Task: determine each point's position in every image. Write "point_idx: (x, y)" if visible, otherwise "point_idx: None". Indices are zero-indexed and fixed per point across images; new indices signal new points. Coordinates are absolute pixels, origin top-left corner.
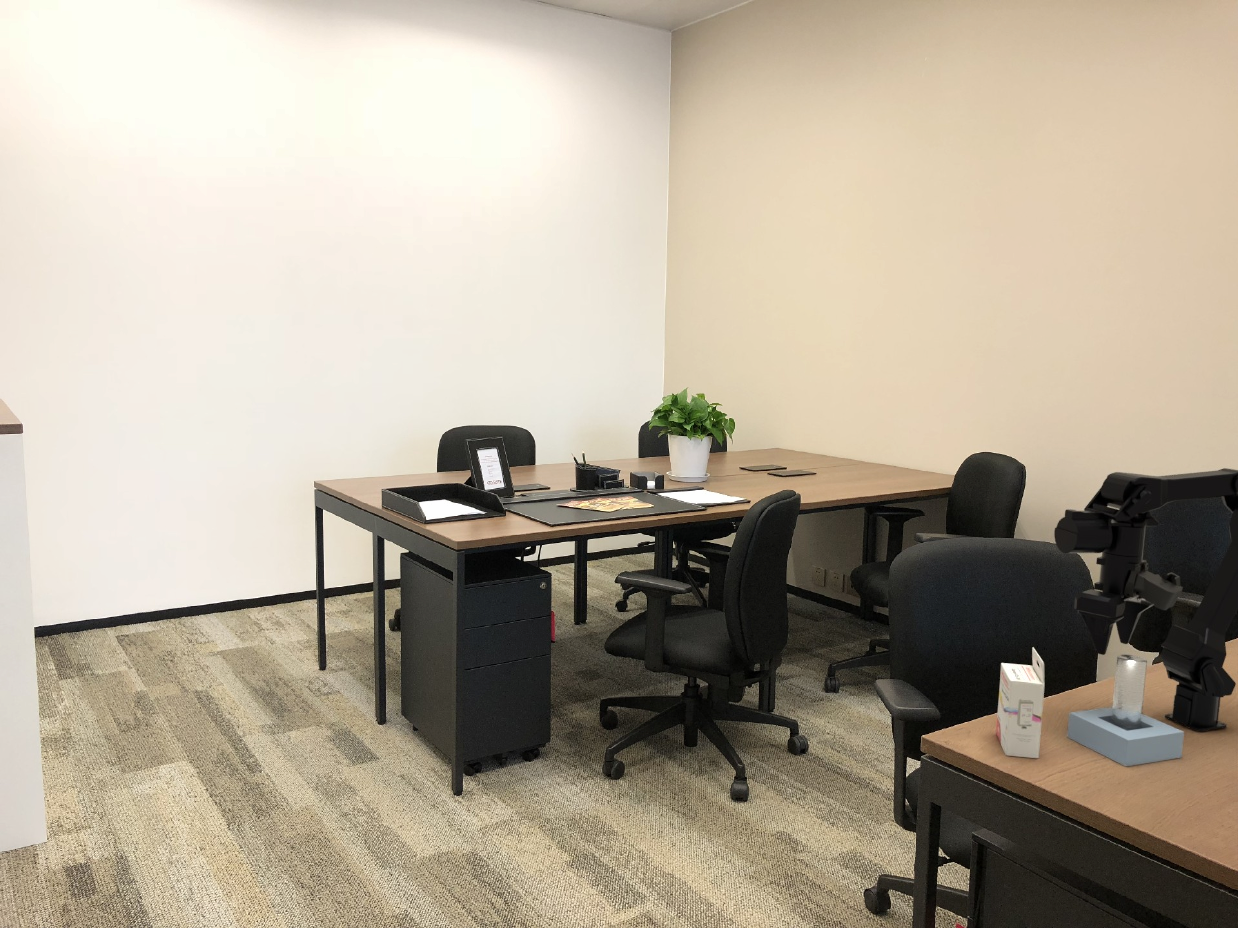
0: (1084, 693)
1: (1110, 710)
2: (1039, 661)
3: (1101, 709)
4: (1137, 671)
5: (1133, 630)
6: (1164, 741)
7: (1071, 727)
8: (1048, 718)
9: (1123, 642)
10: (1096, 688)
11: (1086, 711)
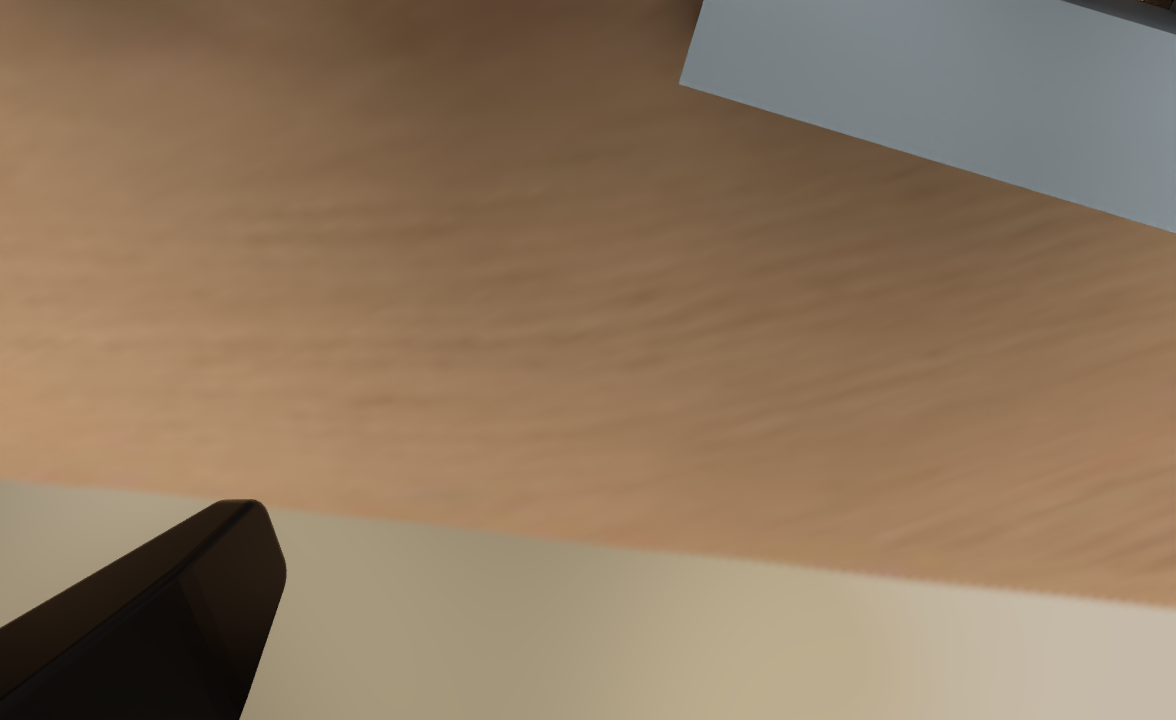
0: (276, 476)
1: (930, 83)
2: None
3: (976, 146)
4: None
5: (25, 625)
6: None
7: None
8: (926, 424)
9: (273, 550)
10: (130, 470)
11: (1155, 202)
